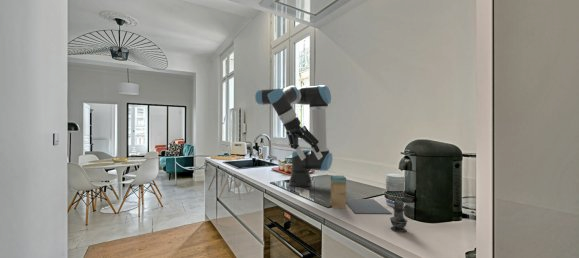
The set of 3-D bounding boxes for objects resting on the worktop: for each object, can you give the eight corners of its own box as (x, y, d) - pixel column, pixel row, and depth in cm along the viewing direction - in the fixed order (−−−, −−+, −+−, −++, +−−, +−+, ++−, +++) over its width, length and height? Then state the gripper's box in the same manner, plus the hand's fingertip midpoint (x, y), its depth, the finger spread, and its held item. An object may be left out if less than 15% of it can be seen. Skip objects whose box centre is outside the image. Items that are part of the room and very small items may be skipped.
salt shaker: (392, 225, 92) (392, 193, 92) (409, 229, 88) (409, 196, 89) (387, 230, 88) (387, 196, 88) (405, 234, 84) (405, 199, 84)
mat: (342, 199, 127) (342, 198, 127) (373, 199, 127) (373, 199, 127) (354, 213, 105) (354, 212, 105) (391, 213, 105) (391, 213, 105)
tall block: (330, 204, 119) (330, 175, 119) (342, 204, 119) (343, 175, 119) (332, 207, 113) (333, 177, 113) (345, 208, 113) (346, 177, 113)
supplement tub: (392, 201, 125) (392, 172, 125) (410, 205, 118) (411, 175, 118) (382, 204, 119) (382, 174, 119) (401, 209, 112) (401, 177, 112)
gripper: (271, 127, 121) (292, 163, 124) (299, 119, 100) (323, 162, 103) (282, 120, 125) (302, 155, 128) (311, 111, 103) (333, 152, 107)
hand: (311, 158), depth 116 cm, fingers open, 13 cm apart
